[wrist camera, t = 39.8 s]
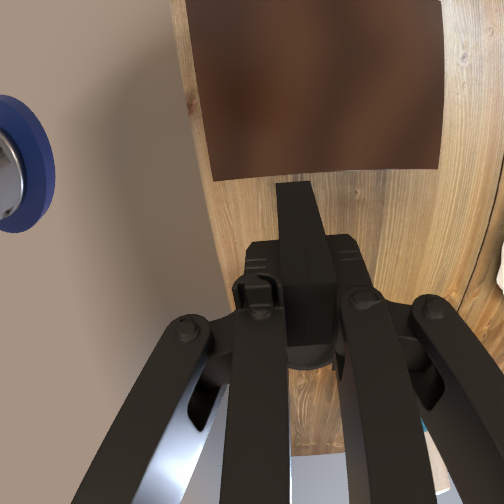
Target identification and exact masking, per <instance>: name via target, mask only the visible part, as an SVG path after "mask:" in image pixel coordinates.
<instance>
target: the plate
mask: <svg viewBox="0 0 504 504" xmlns="http://www.w3.org/2000/svg"><path fill="white" fill-rule="evenodd" d="M496 283H497V284H498V285H499V287H500V288H501V289H502V290H503V295H504V241H503V244H502V247H501V263H500V267H499V270H498V273H497V276H496Z"/></svg>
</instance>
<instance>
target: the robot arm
mask: <svg viewBox="0 0 504 504" xmlns="http://www.w3.org/2000/svg"><path fill="white" fill-rule="evenodd" d="M26 189H27V174H26V168H25V164H24V160H23V157H22V154H21V152H20V150H19V148H18V146H17V144H16V142H15V141H14V140H13V138H12V137H11V136H10V135H9V134H8V132H6V131H5V130H4V129H3V128H1V127H0V220H1V219H4V218H6V217H8V216H10V215H11V214H12V213H13V212H15V211H16V210H17V209H18V208H19V207H20V206H21V204H22V202H23V200H24V198H25V195H26ZM276 197H277V213H278V230H279V240H269V241H257V242H252V243H251V245H250V246H249V247H248V249H247V250H246V257H245V270H244V275H242V276H240V277H239V278H238V279H237V280H236V281H235V282H234V284H233V287H232V292H233V296H234V301H235V306H236V310H235V311H234V312H232V313H231V314H229V315H228V316H225V317H223V318H221V319H217V320H214V321H210V322H209V321H208V320H206V319H205V318H204V317H203V316H200V315H197V314H187V315H184V316H180V317H178V318H176V319H175V320H173V321H172V322H171V323H170V324H169V325H168V326H167V328H166V330H165V331H164V333H163V335H162V336H161V338H160V340H159V341H158V343H157V345H156V347H155V348H154V350H153V352H152V354H151V355H150V357H149V359H148V361H147V362H146V364H145V366H144V368H143V370H142V371H141V373H140V375H139V376H138V378H137V380H136V382H135V384H134V385H133V387H132V389H131V391H130V393H129V394H128V396H127V398H126V400H125V402H124V404H123V405H122V407H121V409H120V411H119V412H118V414H117V416H116V418H115V420H114V422H113V424H112V425H111V427H110V429H109V431H108V433H107V435H106V436H105V439H104V440H103V442H102V444H101V446H100V448H99V450H98V451H97V454H96V455H95V457H94V459H93V461H92V463H91V465H90V467H89V469H88V471H87V473H86V474H85V477H84V479H83V480H82V482H81V484H80V486H79V488H78V490H77V492H76V494H75V496H74V498H73V500H72V502H71V504H180V502H181V499H182V497H183V495H184V492H185V490H186V487H187V485H188V483H189V480H190V478H191V475H192V473H193V470H194V468H195V466H196V463H197V461H198V458H199V456H200V453H201V451H202V448H203V446H204V443H205V440H206V438H207V436H208V433H209V431H210V428H211V426H212V423H213V421H214V418H215V415H216V413H217V410H218V408H219V405H220V403H221V400H222V398H223V395H224V392H225V390H226V387H227V384H230V386H229V396H228V409H227V419H226V430H225V443H224V453H223V465H222V477H221V490H220V501H219V504H292V496H291V495H292V494H291V493H292V488H291V487H292V486H291V432H290V399H289V373H288V353H287V347H298V346H311V345H323V344H332V339H334V345H335V349H334V358H333V365H332V371H335V370H336V378H337V385H338V393H339V400H340V408H341V417H342V426H343V435H344V444H345V453H346V465H347V477H348V489H349V503H350V504H437V499H436V492H435V486H434V480H433V474H432V469H431V463H430V458H429V453H428V448H427V444H426V439H425V434H424V430H423V426H422V422H421V419H422V421H423V423H424V425H425V426H426V428H427V430H428V432H429V434H430V436H431V438H432V440H433V442H434V444H435V446H436V448H437V450H438V452H439V454H440V456H441V458H442V460H443V462H444V464H445V466H446V468H447V470H448V472H449V474H450V476H451V478H452V480H453V483H454V485H455V487H456V489H457V491H458V493H459V496H460V498H461V500H462V502H463V504H504V374H503V373H502V371H501V370H500V368H499V367H498V366H497V364H496V363H495V361H494V360H493V359H492V357H491V356H490V354H489V353H488V352H487V350H486V349H485V348H484V346H483V345H482V344H481V342H480V341H479V340H478V338H477V337H476V336H475V334H474V333H473V332H472V330H471V329H470V328H469V327H468V325H467V324H466V323H465V322H464V320H463V319H462V318H461V317H460V315H459V314H458V313H457V312H456V310H455V309H454V308H453V307H452V305H451V304H450V303H449V302H448V301H446V300H445V299H444V298H442V297H440V296H437V295H432V294H426V295H421V296H419V297H418V298H416V299H415V300H414V302H413V304H412V305H407V304H400V303H395V302H391V301H388V300H386V299H385V298H384V297H383V295H382V294H381V292H379V291H378V290H377V289H375V288H374V287H373V284H372V282H371V279H370V276H369V273H368V271H367V268H366V265H365V263H364V260H363V257H362V255H361V252H360V249H359V247H358V244H357V242H356V240H354V239H353V238H352V237H351V236H350V235H349V234H337V235H325V231H324V228H323V224H322V221H321V217H320V213H319V210H318V207H317V203H316V200H315V196H314V193H313V190H312V186H311V183H310V181H299V182H286V183H276Z"/></svg>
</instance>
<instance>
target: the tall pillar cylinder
mask: <svg viewBox="0 0 504 504" xmlns="http://www.w3.org/2000/svg"><path fill="white" fill-rule="evenodd" d="M424 434H425V439H426V444H427V448H428V453H429V458H430V463H431V469H432V474H433V480H434V486H435V492H436V495H438V494H440V493H443V492H445V491H448V490H449V489H450V482H449V477H448V471H447V468H446V466H445V464H444V462H443V460H442V458H441V456H440V454H439V452H438V450H437V448H436V446H435V444H434V442H433V440H432V438H431V436H430V434H429V432H428V431H427V432H424Z"/></svg>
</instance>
